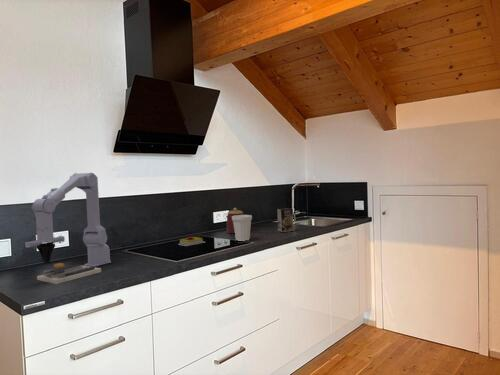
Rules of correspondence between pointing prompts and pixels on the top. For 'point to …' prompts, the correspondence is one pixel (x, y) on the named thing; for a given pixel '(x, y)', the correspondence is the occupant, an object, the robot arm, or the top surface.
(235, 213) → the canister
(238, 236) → the cup
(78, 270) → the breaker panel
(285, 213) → the coffee box
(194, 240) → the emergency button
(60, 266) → the breaker lever
